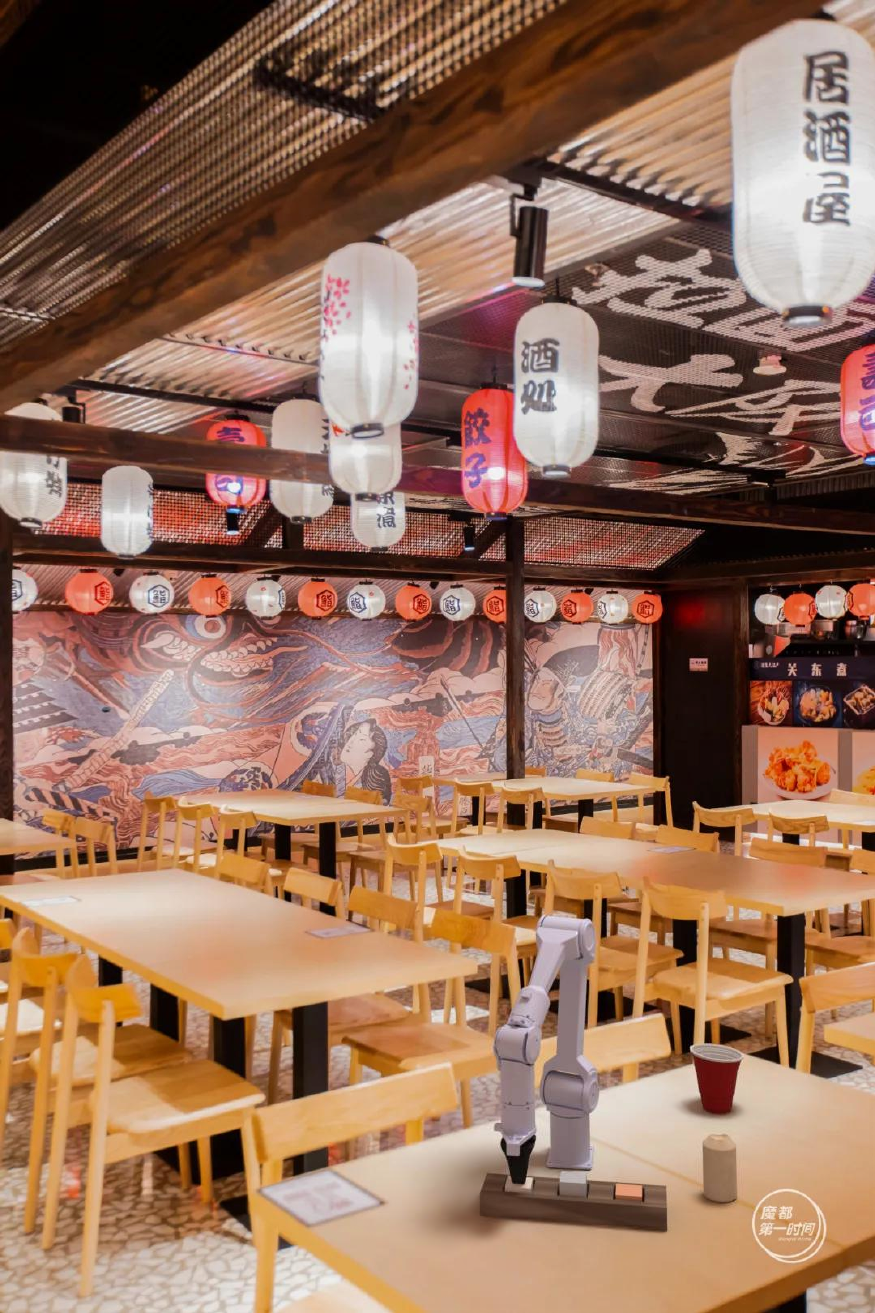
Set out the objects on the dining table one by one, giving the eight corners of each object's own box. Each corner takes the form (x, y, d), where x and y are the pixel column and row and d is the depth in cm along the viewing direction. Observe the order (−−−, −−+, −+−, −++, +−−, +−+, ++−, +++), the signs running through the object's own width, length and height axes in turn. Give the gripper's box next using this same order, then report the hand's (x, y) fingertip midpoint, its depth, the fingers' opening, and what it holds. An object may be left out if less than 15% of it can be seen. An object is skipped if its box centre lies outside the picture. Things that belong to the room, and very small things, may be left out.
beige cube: (508, 1197, 183) (508, 1176, 183) (533, 1199, 182) (532, 1177, 182) (505, 1208, 179) (504, 1187, 179) (530, 1210, 178) (530, 1188, 178)
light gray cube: (561, 1192, 181) (561, 1171, 181) (587, 1194, 180) (586, 1173, 180) (559, 1204, 177) (559, 1182, 177) (585, 1206, 176) (585, 1184, 176)
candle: (731, 1187, 186) (730, 1128, 187) (741, 1202, 181) (740, 1141, 181) (699, 1188, 186) (698, 1129, 187) (708, 1203, 181) (707, 1142, 181)
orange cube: (616, 1205, 179) (616, 1183, 179) (642, 1207, 178) (642, 1185, 179) (615, 1217, 175) (615, 1195, 175) (642, 1219, 174) (641, 1197, 174)
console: (487, 1194, 185) (486, 1173, 185) (666, 1207, 179) (666, 1186, 180) (479, 1215, 177) (479, 1193, 178) (667, 1230, 172) (666, 1208, 172)
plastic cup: (751, 1119, 217) (750, 1058, 217) (697, 1119, 217) (696, 1058, 218) (737, 1099, 228) (736, 1041, 228) (685, 1099, 228) (684, 1041, 228)
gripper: (499, 1083, 189) (500, 1162, 188) (487, 1114, 175) (488, 1200, 174) (540, 1085, 187) (541, 1165, 187) (531, 1117, 173) (532, 1203, 173)
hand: (518, 1182), depth 180 cm, fingers closed, pressing on beige cube
